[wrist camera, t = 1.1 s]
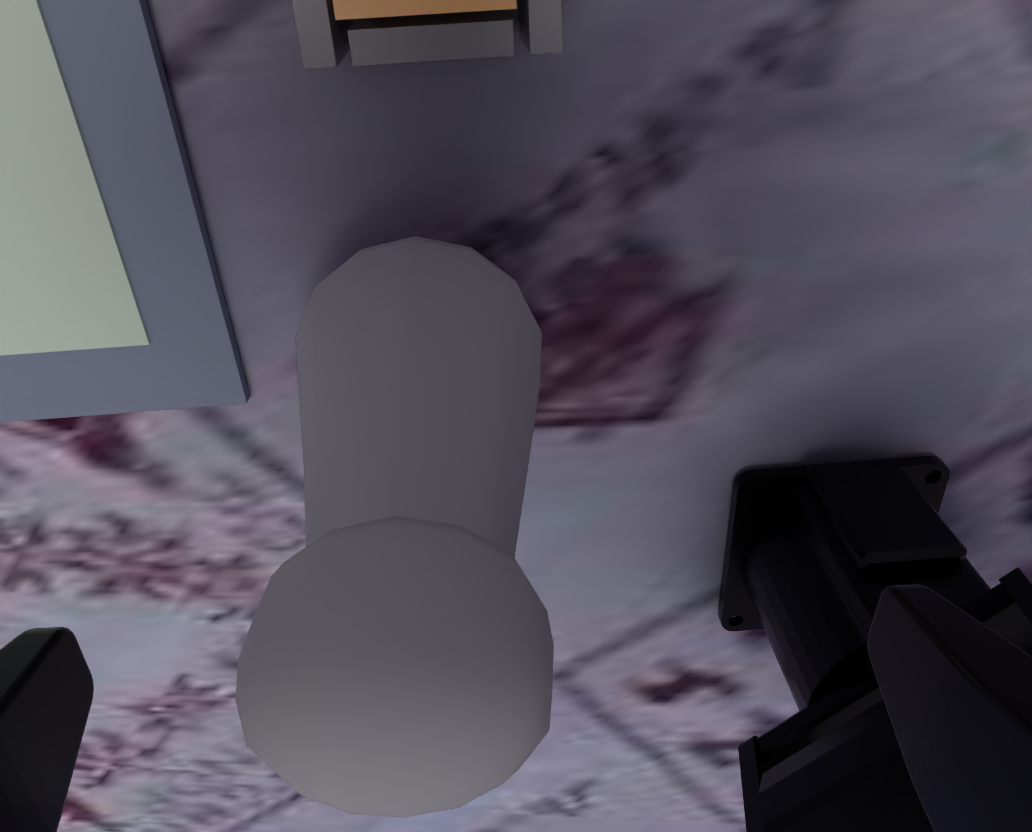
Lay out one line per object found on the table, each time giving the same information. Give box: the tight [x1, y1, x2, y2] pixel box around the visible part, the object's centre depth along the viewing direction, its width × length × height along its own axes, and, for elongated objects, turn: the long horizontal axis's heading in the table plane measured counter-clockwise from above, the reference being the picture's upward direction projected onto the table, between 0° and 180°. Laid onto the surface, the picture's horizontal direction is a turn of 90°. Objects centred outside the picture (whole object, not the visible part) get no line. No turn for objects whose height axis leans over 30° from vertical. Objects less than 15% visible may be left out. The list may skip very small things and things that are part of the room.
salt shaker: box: [236, 236, 554, 817], centre depth 16 cm, size 6×6×13 cm
